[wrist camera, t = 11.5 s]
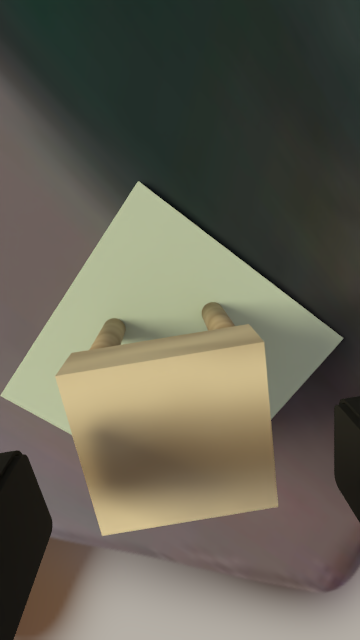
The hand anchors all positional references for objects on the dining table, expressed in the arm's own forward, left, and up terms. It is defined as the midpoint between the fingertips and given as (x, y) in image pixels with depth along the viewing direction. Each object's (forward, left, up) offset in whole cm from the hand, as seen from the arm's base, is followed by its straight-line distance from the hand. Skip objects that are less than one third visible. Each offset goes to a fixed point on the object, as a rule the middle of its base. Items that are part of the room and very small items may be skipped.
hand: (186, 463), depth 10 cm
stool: (+1, 0, -9) cm, 9 cm away
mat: (+1, 0, -9) cm, 9 cm away
